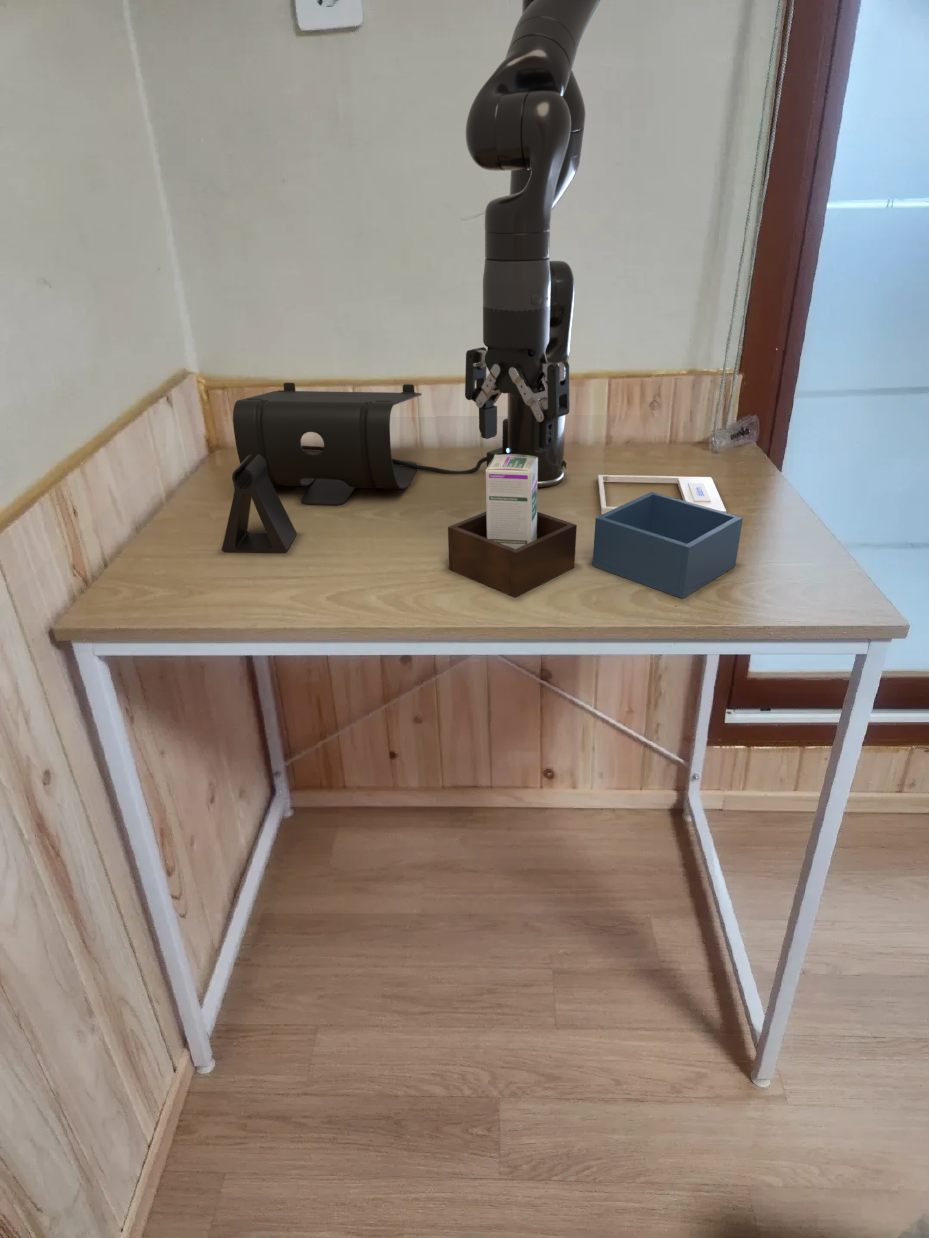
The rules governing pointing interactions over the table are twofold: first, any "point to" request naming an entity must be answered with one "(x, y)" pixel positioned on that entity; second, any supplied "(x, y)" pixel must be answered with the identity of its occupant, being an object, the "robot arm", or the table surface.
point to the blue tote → (666, 543)
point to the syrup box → (512, 499)
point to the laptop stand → (346, 428)
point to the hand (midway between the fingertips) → (514, 444)
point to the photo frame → (690, 487)
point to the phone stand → (268, 506)
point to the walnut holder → (512, 554)
